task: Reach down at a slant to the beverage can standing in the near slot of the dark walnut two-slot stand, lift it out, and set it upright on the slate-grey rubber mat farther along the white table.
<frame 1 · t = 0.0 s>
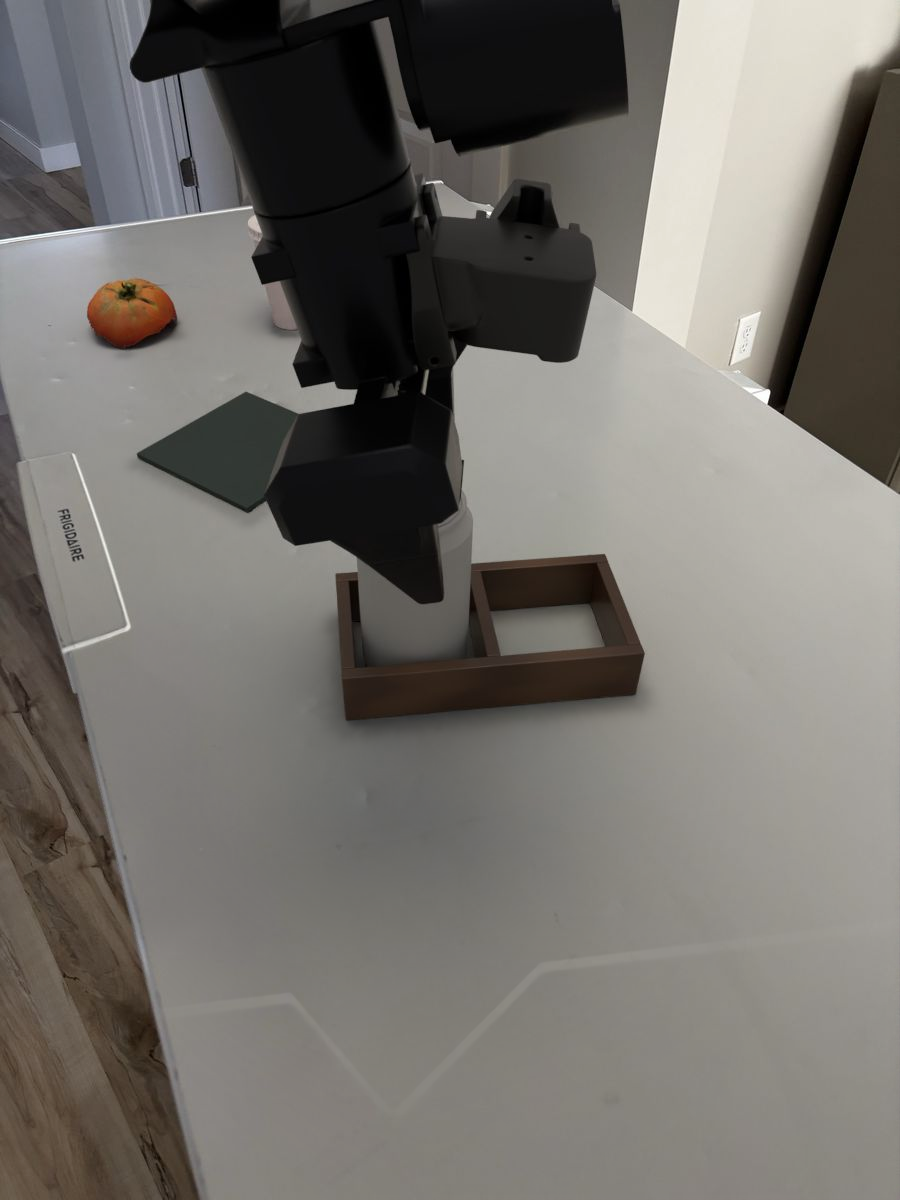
hand: (439, 533, 42), 15 cm above the table, tool pointing down, fingers open, 9 cm apart
mat: (247, 449, 74), on the table
smoothie: (293, 323, 91), on the table
can stand: (481, 652, 57), on the table
beverage can: (415, 660, 57), resting in can stand
tomato: (135, 332, 89), on the table
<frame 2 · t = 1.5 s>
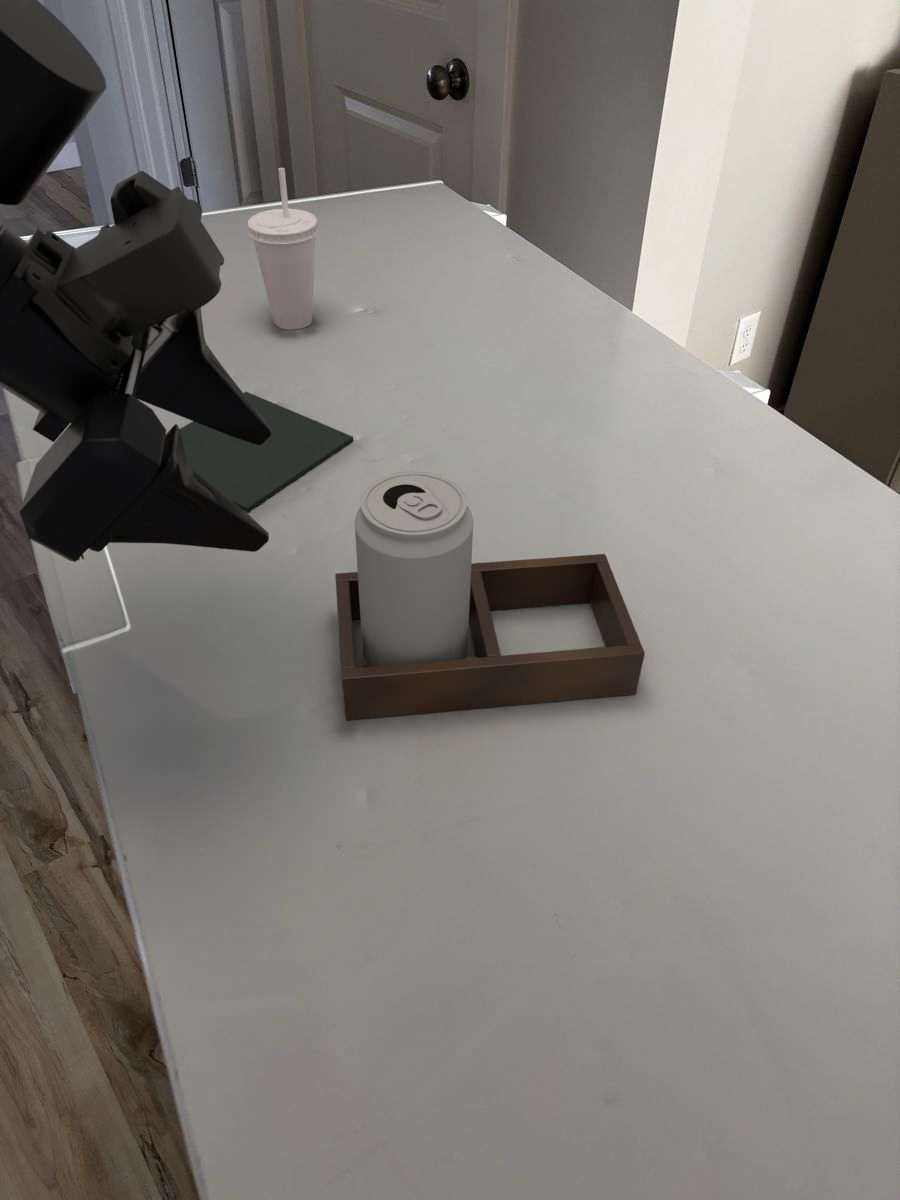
hand: (265, 487, 47), 13 cm above the table, tool tilted 45°, fingers open, 9 cm apart
nothing on the table moved.
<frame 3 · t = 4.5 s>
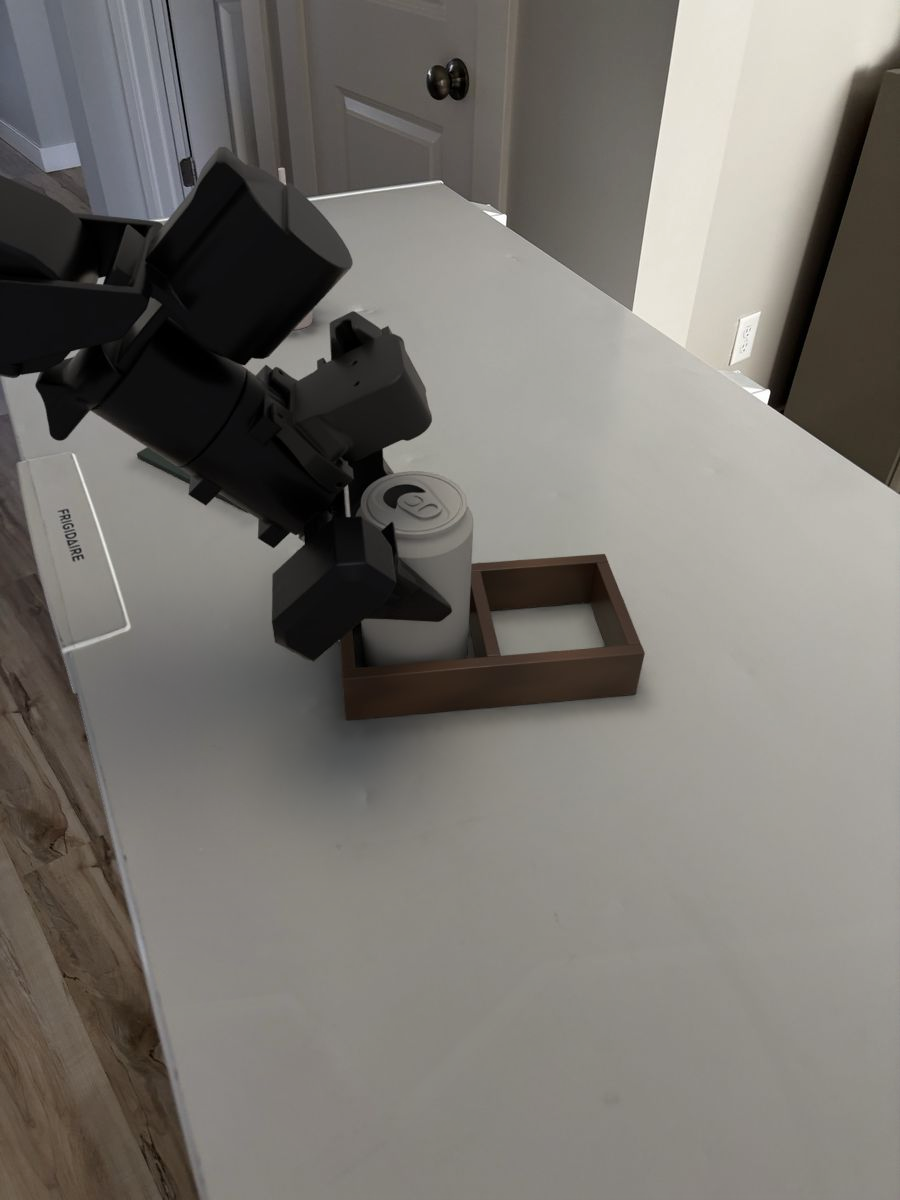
hand: (438, 575, 53), 7 cm above the table, tool tilted 45°, fingers closed on beverage can, 6 cm apart
beverage can: (415, 660, 57), resting in can stand, touching gripper
everything else where it was.
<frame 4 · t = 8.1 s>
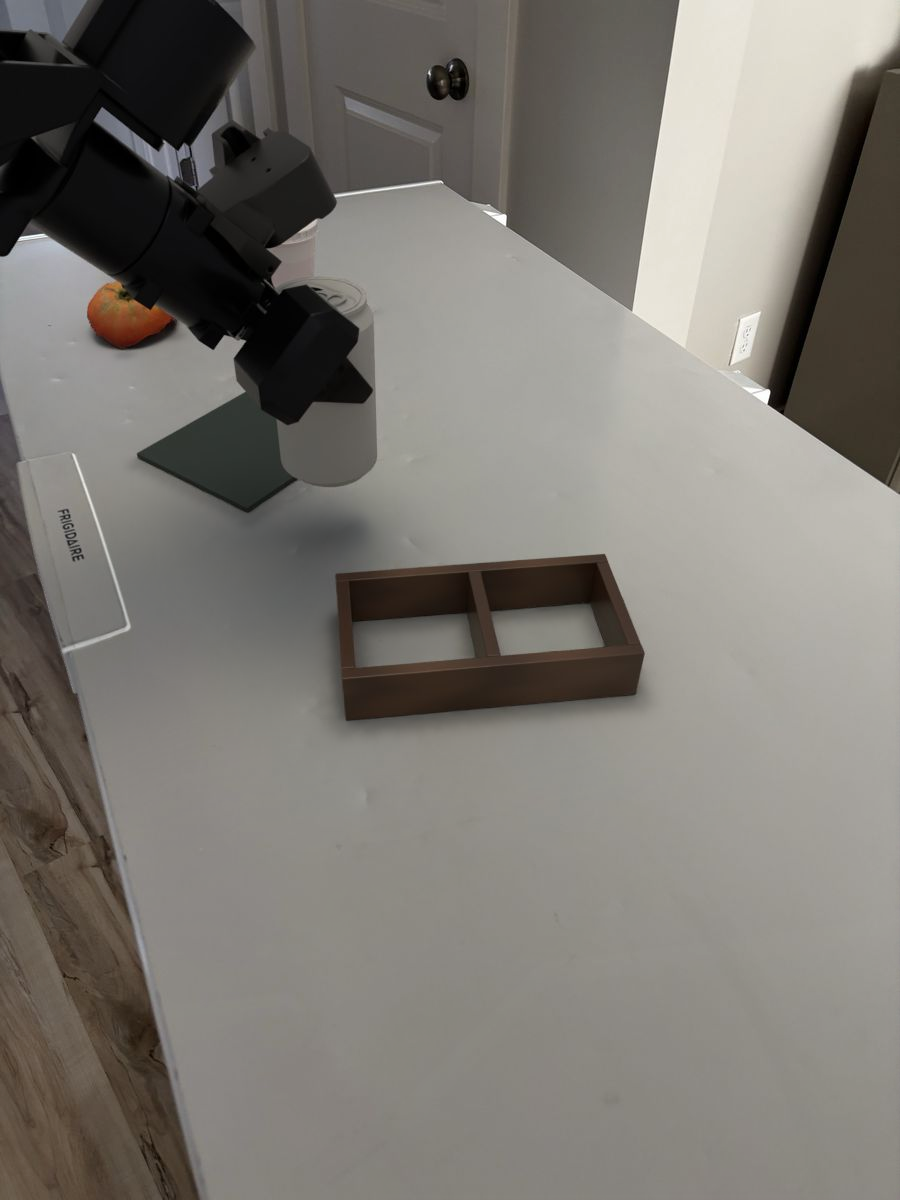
hand: (343, 372, 58), 12 cm above the table, tool tilted 45°, fingers closed on beverage can, 6 cm apart
beverage can: (330, 469, 62), point 5 cm above the table, touching gripper
everything else where it was.
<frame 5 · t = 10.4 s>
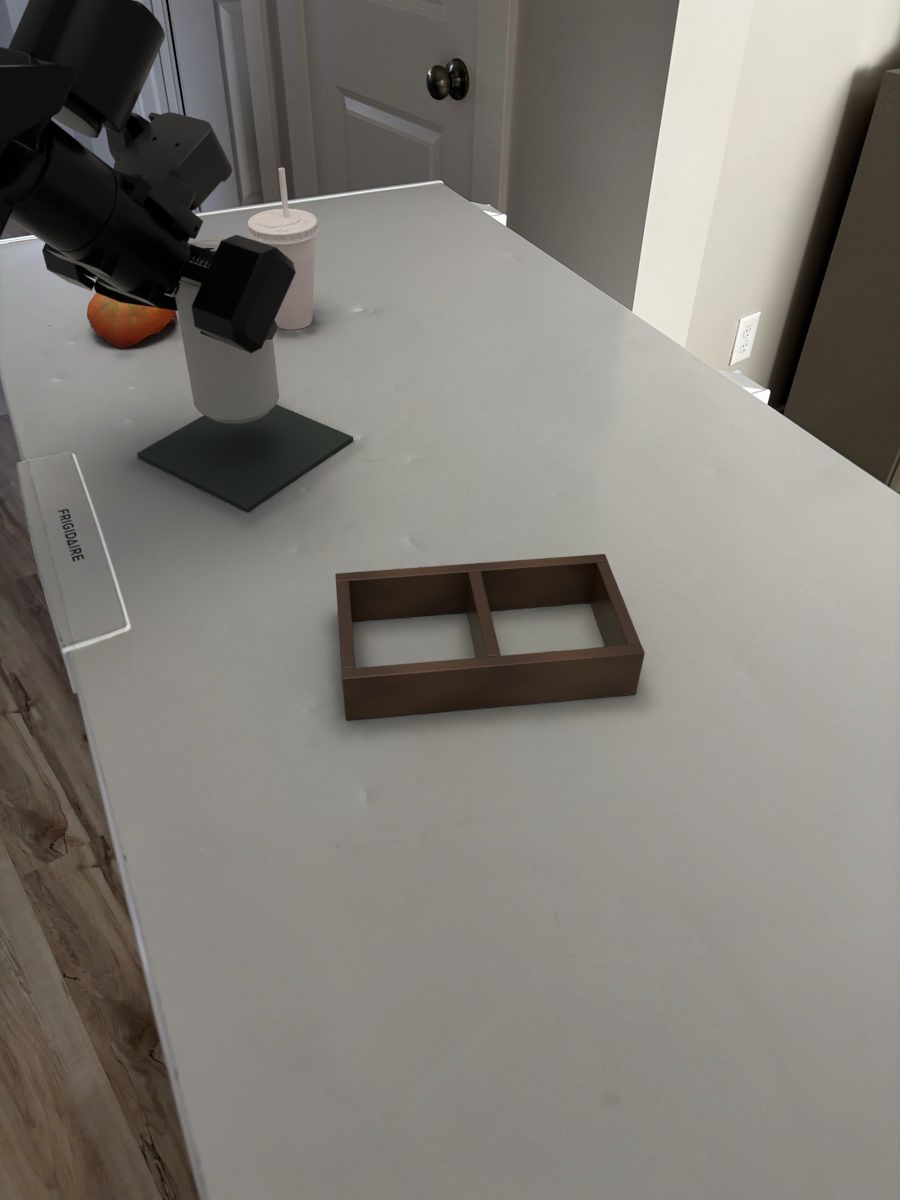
hand: (239, 320, 68), 10 cm above the table, tool tilted 45°, fingers closed on beverage can, 6 cm apart
beverage can: (238, 409, 71), point 4 cm above the table, touching gripper
everything else where it was.
when the fingers open (7 cm above the table, at t = 11.9 s): beverage can stays where it is, resting on mat.
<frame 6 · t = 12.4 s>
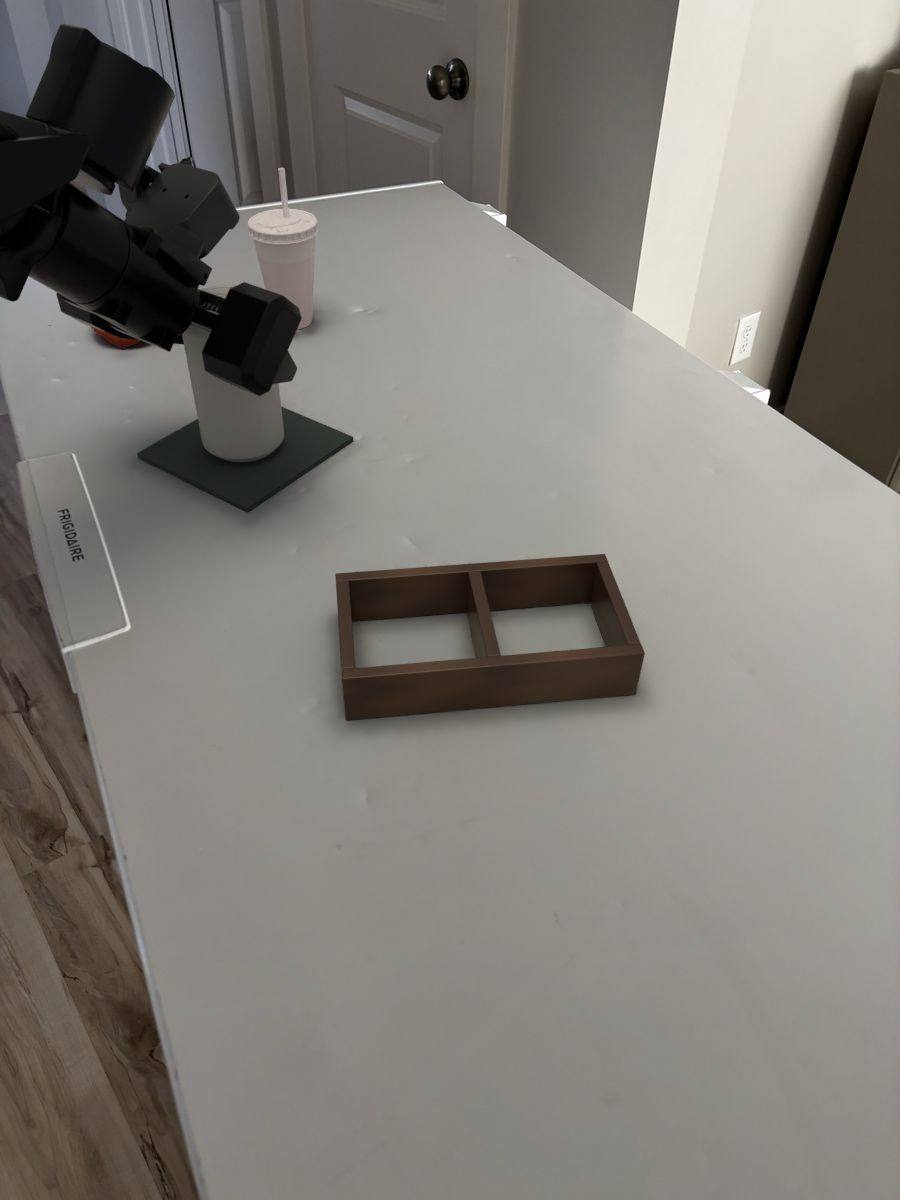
hand: (247, 356, 70), 7 cm above the table, tool tilted 45°, fingers open, 9 cm apart
beverage can: (245, 447, 74), resting on mat
everything else where it was.
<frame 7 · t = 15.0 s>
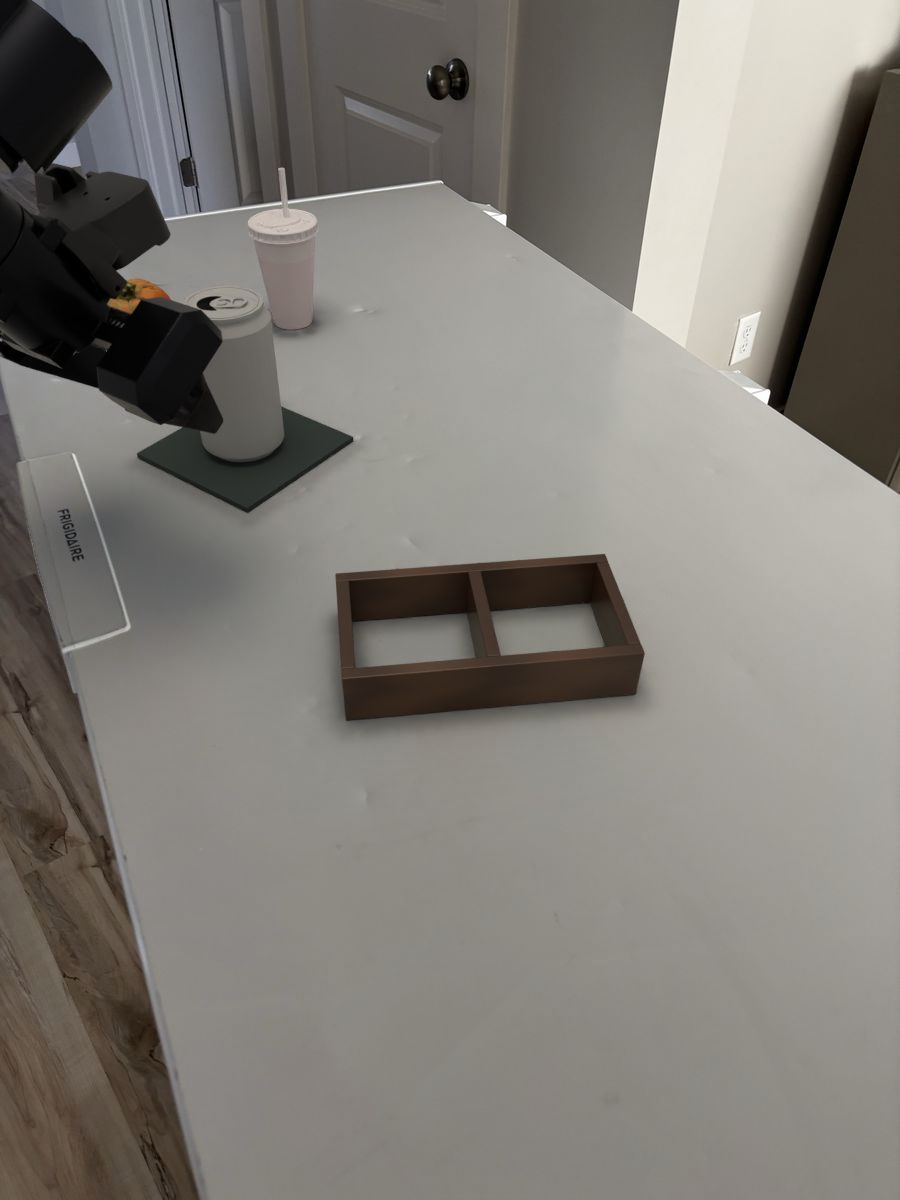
hand: (171, 407, 60), 9 cm above the table, tool tilted 35°, fingers open, 9 cm apart
nothing on the table moved.
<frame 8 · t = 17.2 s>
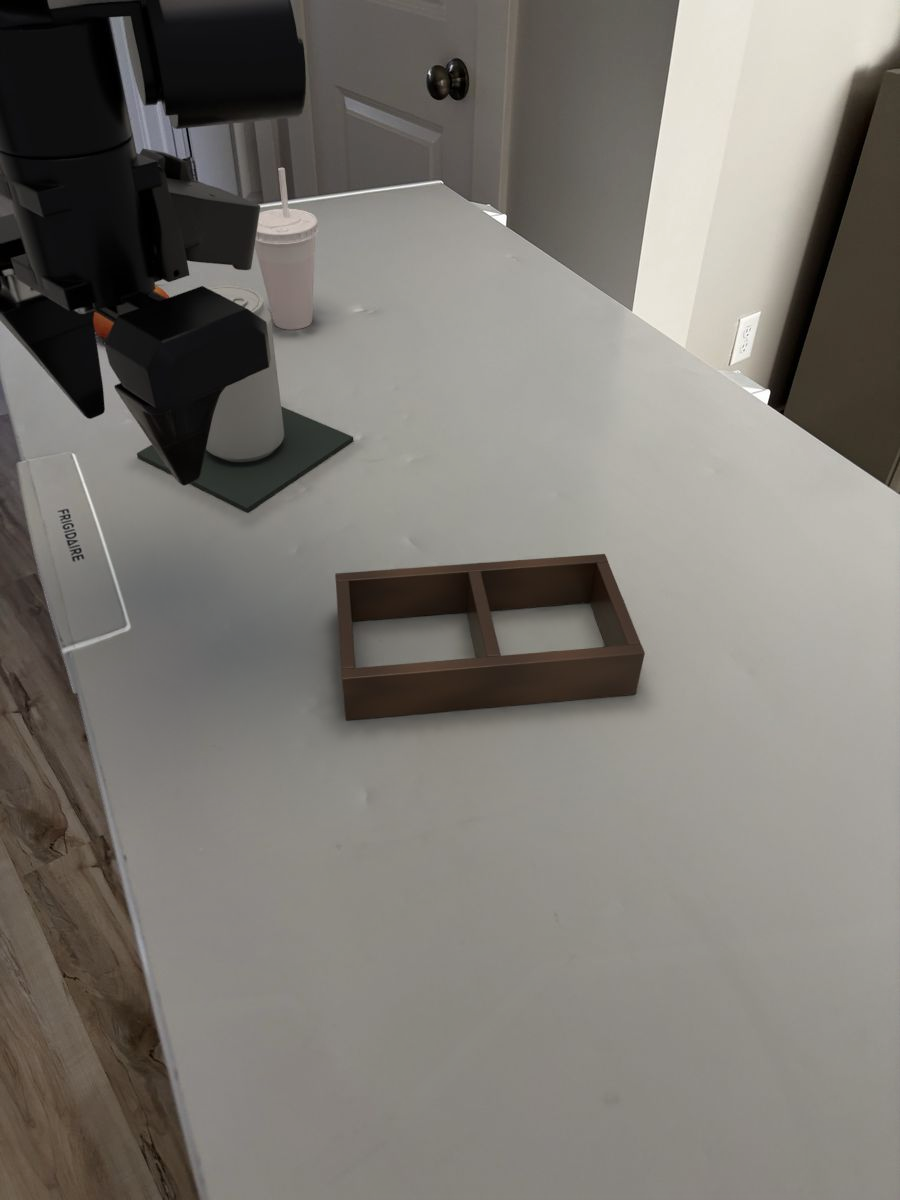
hand: (140, 446, 50), 13 cm above the table, tool pointing down, fingers open, 9 cm apart
nothing on the table moved.
at the end: beverage can inside the target area on the mat (0.1 cm from its centre), point 0.2 cm above the mat's base; beverage can tilted 0°; the gripper is holding nothing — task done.
